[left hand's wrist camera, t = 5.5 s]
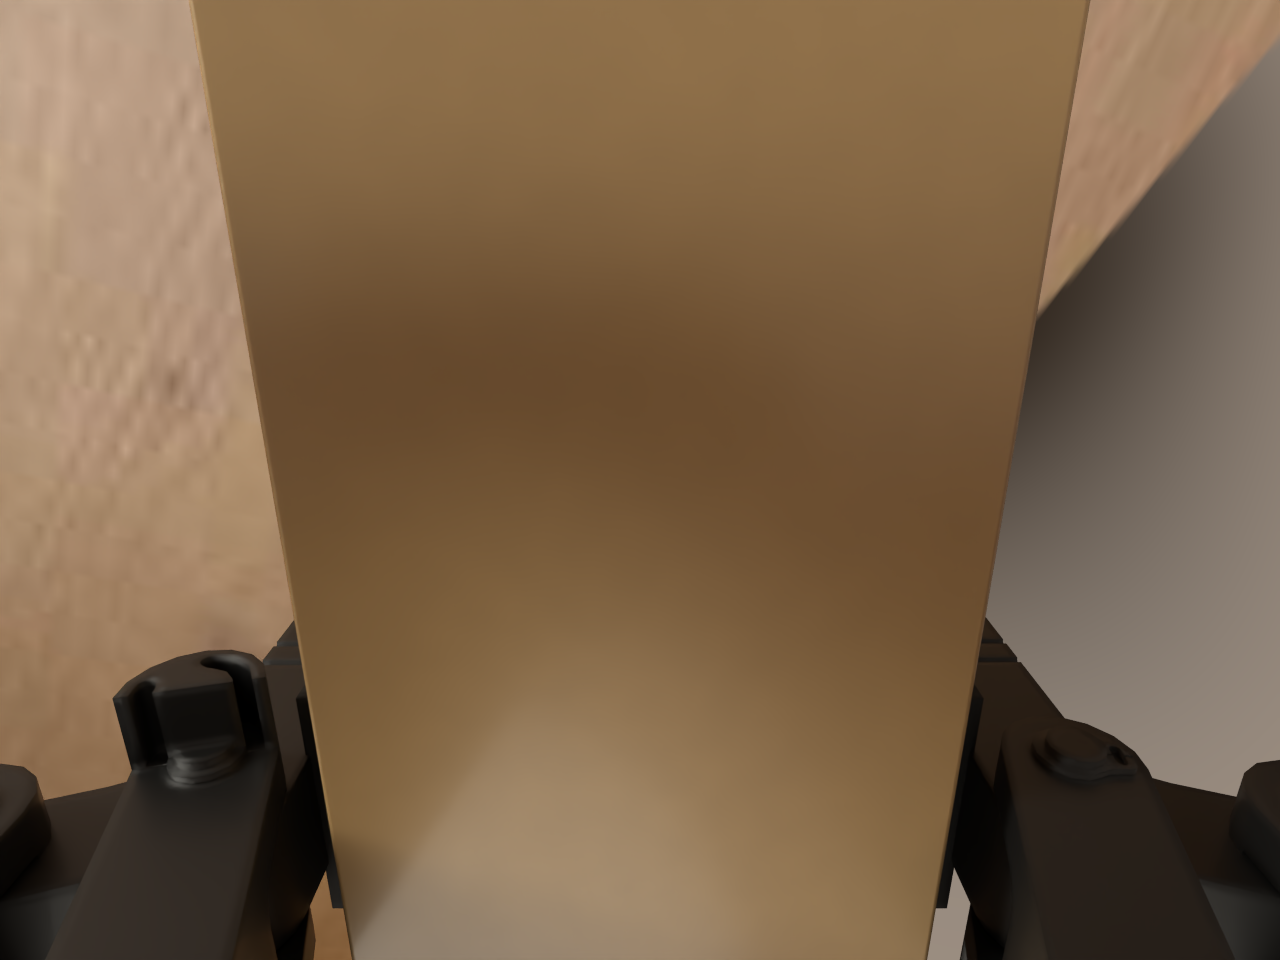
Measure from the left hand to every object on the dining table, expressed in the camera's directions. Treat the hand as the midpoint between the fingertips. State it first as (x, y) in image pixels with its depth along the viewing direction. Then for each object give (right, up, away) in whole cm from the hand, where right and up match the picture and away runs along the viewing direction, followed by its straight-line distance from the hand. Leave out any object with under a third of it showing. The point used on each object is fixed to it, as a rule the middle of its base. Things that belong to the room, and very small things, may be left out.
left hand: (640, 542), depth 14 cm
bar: (0, +8, -2) cm, 8 cm away
